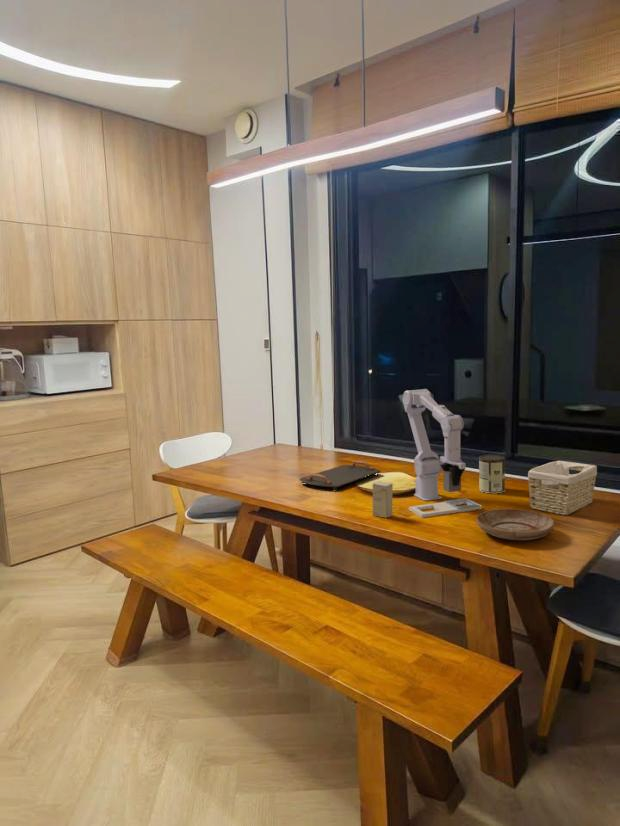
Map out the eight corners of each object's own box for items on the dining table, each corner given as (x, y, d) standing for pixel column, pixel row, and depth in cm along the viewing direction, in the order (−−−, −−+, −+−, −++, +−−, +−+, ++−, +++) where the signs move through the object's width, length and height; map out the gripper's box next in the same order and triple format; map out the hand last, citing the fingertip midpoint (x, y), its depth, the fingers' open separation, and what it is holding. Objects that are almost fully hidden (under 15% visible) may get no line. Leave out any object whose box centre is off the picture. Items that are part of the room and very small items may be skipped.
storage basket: (555, 495, 222) (556, 458, 220) (598, 503, 210) (599, 464, 208) (525, 509, 206) (525, 470, 204) (569, 518, 194) (570, 477, 192)
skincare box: (372, 515, 206) (371, 483, 204) (379, 512, 209) (378, 480, 207) (386, 518, 202) (386, 485, 200) (393, 515, 205) (392, 483, 203)
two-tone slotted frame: (408, 509, 211) (408, 506, 210) (466, 501, 218) (466, 497, 218) (421, 517, 201) (421, 513, 201) (482, 508, 208) (482, 504, 208)
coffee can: (490, 486, 238) (490, 453, 236) (510, 491, 230) (510, 457, 228) (473, 490, 233) (473, 457, 231) (493, 495, 224) (493, 461, 222)
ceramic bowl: (493, 517, 198) (494, 504, 198) (563, 530, 183) (564, 516, 182) (464, 536, 181) (464, 522, 180) (538, 553, 166) (539, 537, 165)
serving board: (347, 469, 281) (347, 457, 280) (385, 475, 265) (385, 462, 264) (294, 486, 253) (293, 472, 252) (333, 494, 237) (332, 480, 236)
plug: (443, 489, 211) (443, 471, 210) (455, 487, 212) (455, 469, 211) (449, 492, 207) (448, 473, 206) (461, 490, 208) (460, 472, 207)
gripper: (432, 445, 213) (433, 480, 215) (453, 452, 199) (453, 489, 201) (449, 444, 215) (449, 478, 217) (470, 450, 201) (470, 487, 203)
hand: (452, 483), depth 209 cm, fingers closed on plug, 4 cm apart
